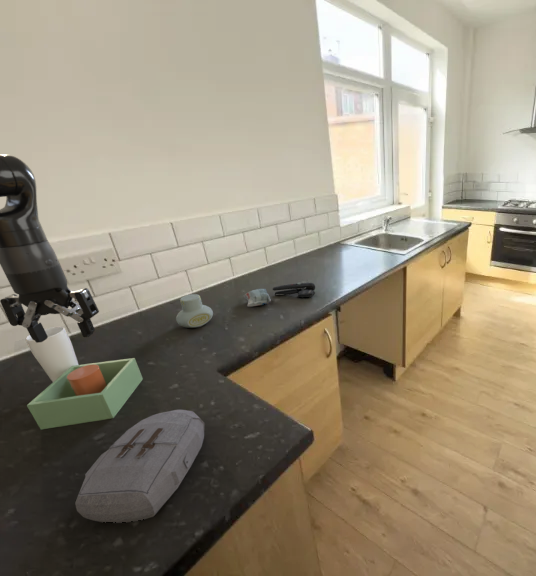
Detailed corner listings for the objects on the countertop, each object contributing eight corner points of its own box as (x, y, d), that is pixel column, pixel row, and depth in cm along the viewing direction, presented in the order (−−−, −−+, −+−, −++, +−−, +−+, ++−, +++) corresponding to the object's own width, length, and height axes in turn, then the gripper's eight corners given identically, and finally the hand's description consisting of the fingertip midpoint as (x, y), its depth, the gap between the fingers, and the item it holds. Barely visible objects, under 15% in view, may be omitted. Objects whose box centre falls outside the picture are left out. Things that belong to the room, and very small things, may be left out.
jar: (75, 410, 71) (60, 381, 68) (90, 393, 76) (77, 366, 73) (102, 406, 72) (89, 377, 69) (116, 390, 77) (104, 362, 74)
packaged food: (248, 311, 117) (246, 299, 115) (244, 300, 126) (241, 288, 125) (272, 306, 121) (270, 294, 119) (266, 295, 130) (264, 284, 128)
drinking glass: (92, 380, 82) (69, 330, 76) (58, 396, 77) (30, 343, 71) (82, 372, 85) (58, 323, 79) (48, 387, 80) (20, 336, 74)
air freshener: (209, 314, 115) (202, 289, 112) (218, 321, 110) (211, 295, 106) (175, 325, 108) (167, 299, 104) (183, 334, 103) (175, 306, 99)
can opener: (318, 292, 132) (317, 279, 130) (313, 299, 125) (311, 286, 123) (277, 291, 134) (275, 279, 132) (270, 298, 127) (268, 285, 125)
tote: (40, 429, 67) (26, 405, 65) (82, 387, 79) (71, 365, 77) (113, 418, 70) (102, 394, 67) (143, 379, 82) (134, 357, 79)
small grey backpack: (168, 525, 49) (223, 424, 67) (151, 488, 46) (214, 392, 64) (67, 531, 48) (150, 428, 67) (43, 494, 45) (137, 396, 64)
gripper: (86, 257, 66) (113, 325, 72) (5, 263, 64) (40, 333, 70) (61, 268, 59) (93, 343, 66) (-32, 275, 57) (10, 352, 63)
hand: (65, 338), depth 68 cm, fingers open, 8 cm apart
